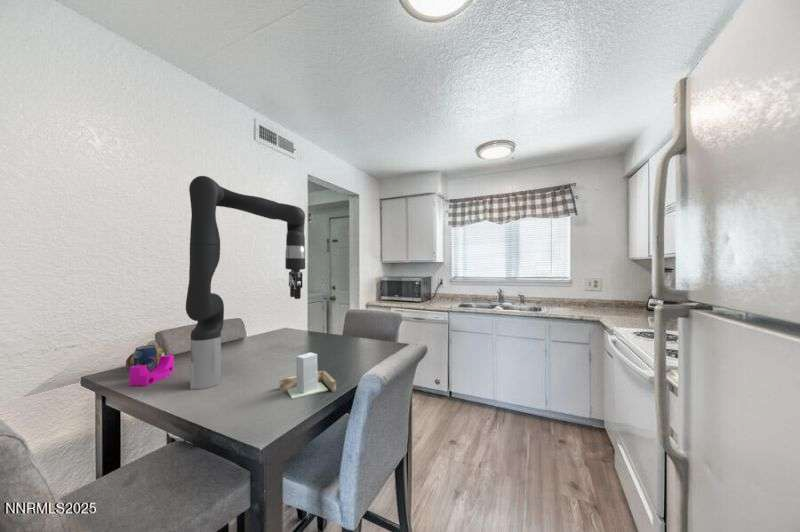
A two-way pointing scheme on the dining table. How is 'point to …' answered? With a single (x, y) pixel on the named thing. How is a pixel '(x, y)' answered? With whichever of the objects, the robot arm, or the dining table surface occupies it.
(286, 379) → the wooden angle bracket
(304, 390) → the skincare box
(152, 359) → the soda can
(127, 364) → the tin
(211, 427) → the dining table surface
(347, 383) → the dining table surface
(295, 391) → the mat
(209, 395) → the dining table surface
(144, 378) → the magenta notched block
